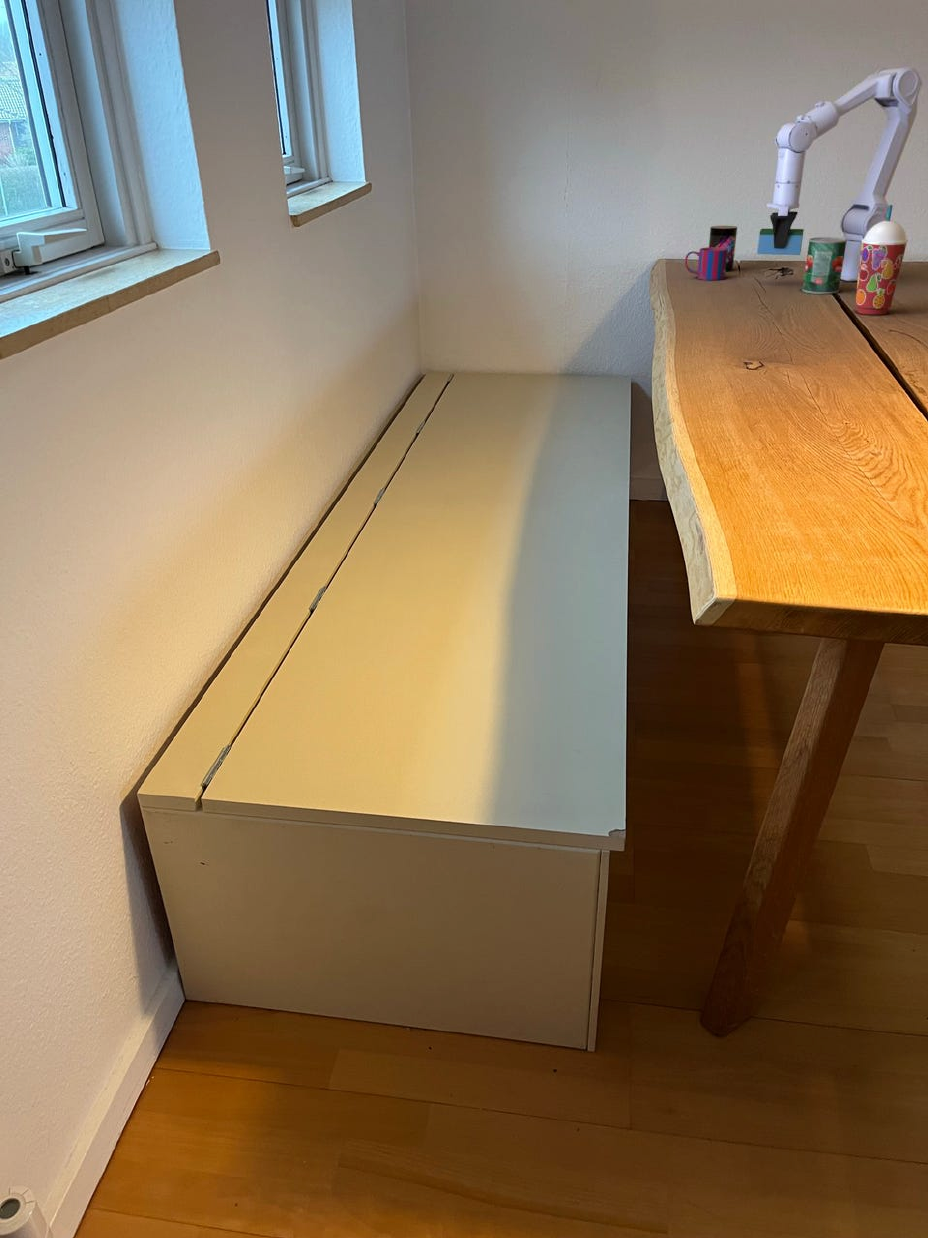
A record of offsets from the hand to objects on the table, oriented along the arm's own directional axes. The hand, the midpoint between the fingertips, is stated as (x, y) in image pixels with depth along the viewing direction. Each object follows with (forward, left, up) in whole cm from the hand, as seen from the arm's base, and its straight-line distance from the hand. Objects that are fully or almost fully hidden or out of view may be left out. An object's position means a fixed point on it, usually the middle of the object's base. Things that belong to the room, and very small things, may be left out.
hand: (779, 246), depth 217 cm
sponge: (0, 0, -1) cm, 1 cm away
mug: (+12, -15, -9) cm, 21 cm away
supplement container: (+3, -26, -9) cm, 27 cm away
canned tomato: (-5, +11, -9) cm, 15 cm away
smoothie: (-2, +37, -9) cm, 38 cm away
